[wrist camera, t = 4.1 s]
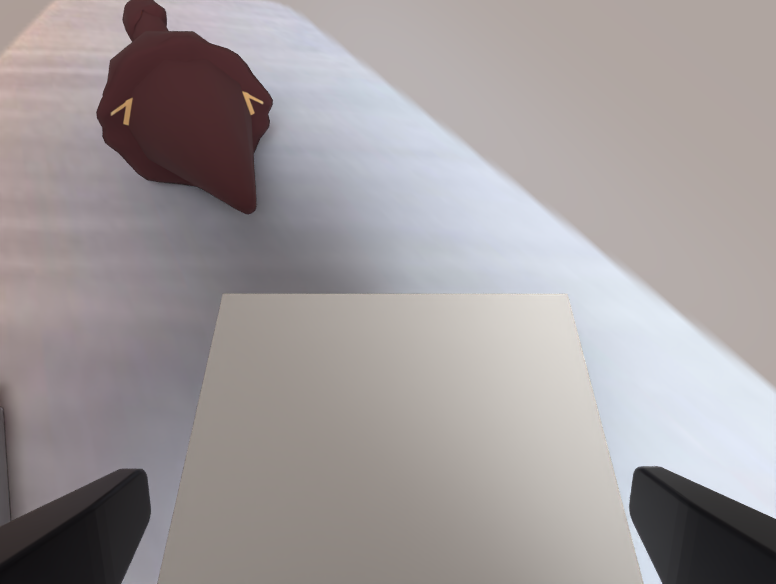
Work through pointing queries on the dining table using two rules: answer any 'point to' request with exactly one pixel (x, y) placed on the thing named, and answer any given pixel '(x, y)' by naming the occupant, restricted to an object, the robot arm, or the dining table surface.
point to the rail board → (3, 476)
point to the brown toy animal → (184, 109)
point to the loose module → (397, 447)
